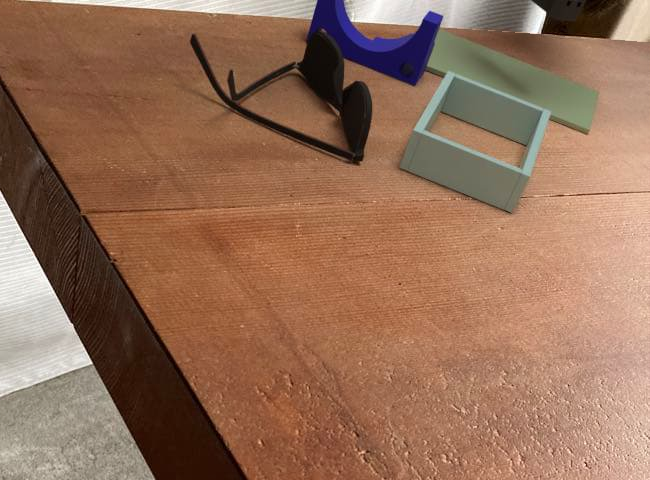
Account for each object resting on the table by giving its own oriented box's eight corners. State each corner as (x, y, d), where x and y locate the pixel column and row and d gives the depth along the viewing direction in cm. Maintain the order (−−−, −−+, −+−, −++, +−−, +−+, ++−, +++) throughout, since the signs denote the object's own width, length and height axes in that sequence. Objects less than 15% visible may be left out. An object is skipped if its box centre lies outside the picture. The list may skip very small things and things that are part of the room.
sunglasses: (169, 56, 89) (179, -1, 86) (312, 74, 95) (328, 20, 91) (216, 152, 79) (229, 91, 76) (374, 166, 85) (394, 110, 81)
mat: (597, 96, 109) (599, 91, 109) (587, 134, 101) (590, 129, 101) (430, 30, 111) (432, 26, 110) (407, 63, 102) (409, 58, 102)
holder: (535, 145, 96) (551, 111, 93) (512, 213, 85) (530, 176, 82) (434, 105, 97) (448, 70, 94) (398, 167, 85) (413, 129, 83)
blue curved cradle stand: (424, 72, 102) (446, 11, 98) (415, 85, 99) (437, 24, 94) (318, 29, 103) (335, -32, 98) (305, 42, 100) (323, -21, 95)
